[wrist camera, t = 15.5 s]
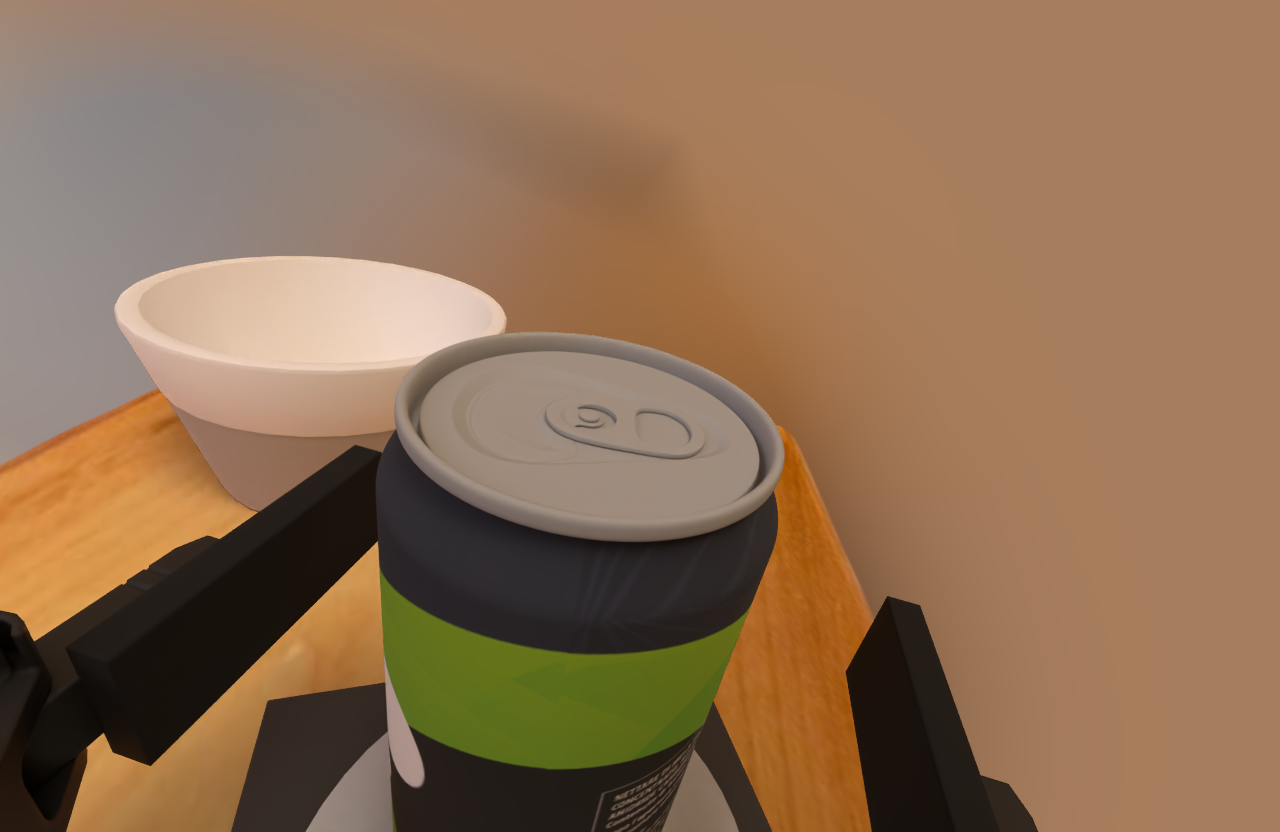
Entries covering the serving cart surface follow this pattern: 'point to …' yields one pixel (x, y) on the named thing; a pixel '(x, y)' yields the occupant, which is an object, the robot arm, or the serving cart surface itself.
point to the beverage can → (562, 577)
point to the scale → (360, 771)
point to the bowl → (292, 356)
